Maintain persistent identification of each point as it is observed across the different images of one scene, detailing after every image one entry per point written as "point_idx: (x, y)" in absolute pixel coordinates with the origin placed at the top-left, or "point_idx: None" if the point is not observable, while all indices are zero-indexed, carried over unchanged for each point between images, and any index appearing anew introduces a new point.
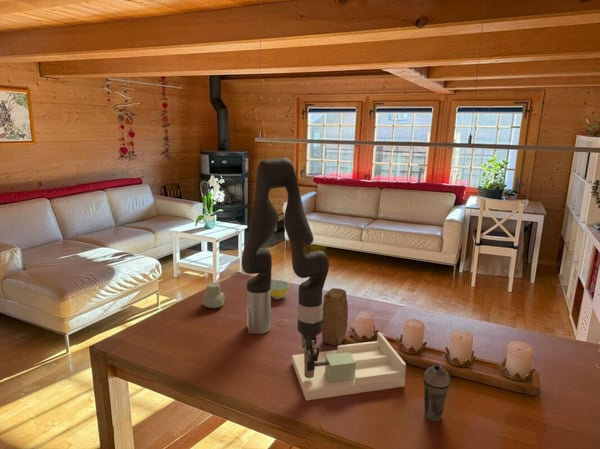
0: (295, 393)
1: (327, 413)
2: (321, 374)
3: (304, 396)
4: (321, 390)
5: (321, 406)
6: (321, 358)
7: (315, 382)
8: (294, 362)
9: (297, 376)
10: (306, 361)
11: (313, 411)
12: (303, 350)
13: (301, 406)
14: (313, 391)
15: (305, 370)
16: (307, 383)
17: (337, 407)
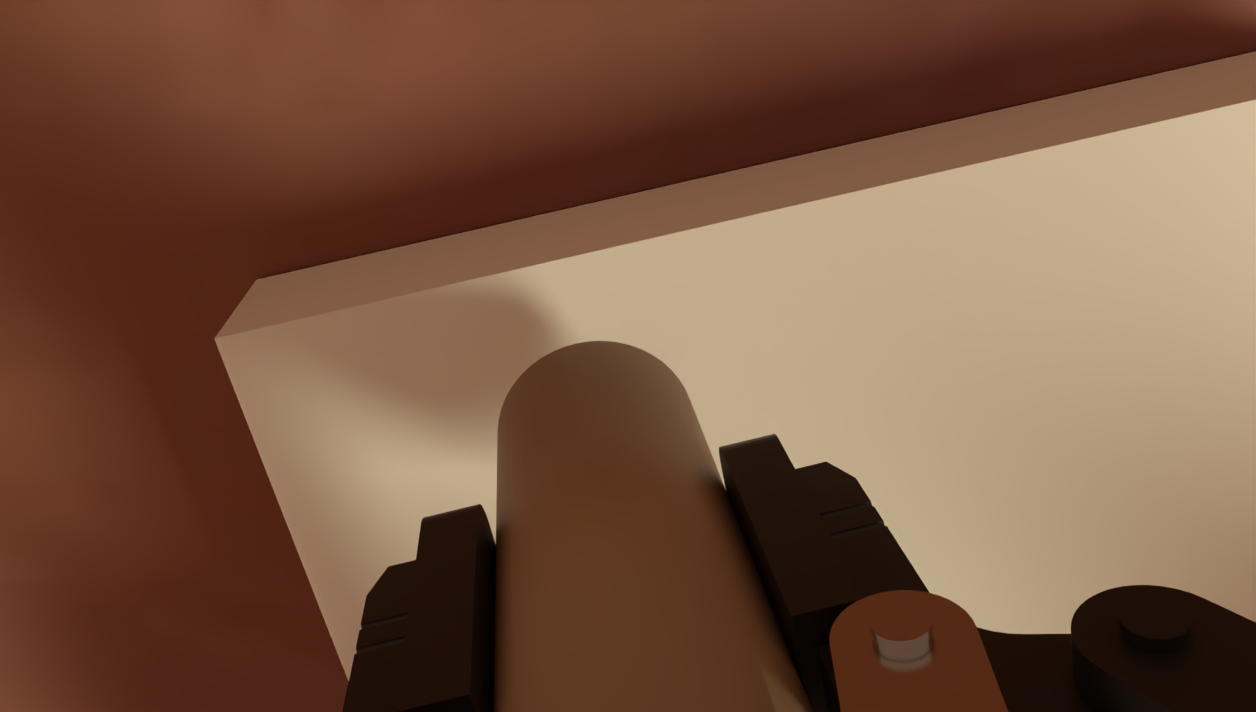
0: (429, 103)
1: (5, 575)
2: None
3: (354, 257)
4: (313, 578)
5: (148, 501)
6: (1192, 583)
7: None
8: (1205, 100)
9: (884, 139)
10: (524, 605)
11: (7, 391)
12: (907, 630)
13: (94, 208)
14: (269, 457)
15: (540, 431)
16: (475, 362)
17: (163, 693)
